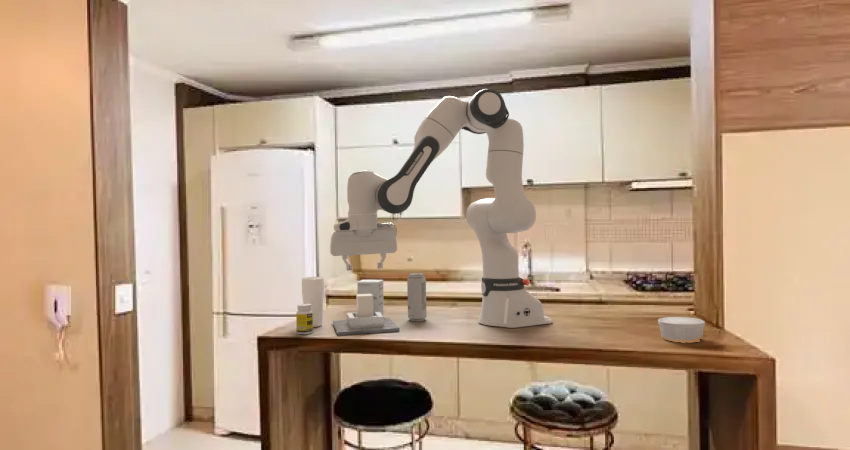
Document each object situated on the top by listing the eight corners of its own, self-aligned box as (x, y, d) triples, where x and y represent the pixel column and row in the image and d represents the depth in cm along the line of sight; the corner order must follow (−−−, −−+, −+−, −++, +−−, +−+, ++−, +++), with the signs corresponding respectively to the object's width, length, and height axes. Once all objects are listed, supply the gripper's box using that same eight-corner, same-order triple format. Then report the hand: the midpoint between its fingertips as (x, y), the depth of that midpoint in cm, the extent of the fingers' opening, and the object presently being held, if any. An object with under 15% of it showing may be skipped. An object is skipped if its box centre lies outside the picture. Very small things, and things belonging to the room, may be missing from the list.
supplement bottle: (309, 334, 163) (308, 305, 163) (293, 334, 164) (293, 305, 164) (315, 331, 168) (315, 303, 168) (300, 331, 169) (300, 303, 169)
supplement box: (357, 320, 185) (356, 281, 184) (363, 316, 192) (362, 279, 192) (379, 320, 183) (378, 281, 183) (384, 316, 191) (383, 279, 190)
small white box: (371, 322, 175) (370, 293, 175) (373, 325, 170) (372, 295, 170) (356, 323, 174) (356, 294, 174) (358, 326, 169) (358, 296, 169)
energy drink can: (410, 318, 187) (409, 272, 186) (428, 318, 186) (427, 272, 185) (406, 321, 181) (405, 274, 181) (424, 321, 180) (423, 274, 179)
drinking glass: (314, 323, 181) (313, 276, 181) (329, 325, 177) (328, 277, 177) (298, 326, 176) (297, 278, 175) (313, 328, 172) (312, 279, 171)
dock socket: (388, 320, 183) (388, 308, 183) (399, 331, 166) (399, 317, 165) (332, 324, 179) (332, 311, 179) (337, 335, 161) (337, 321, 161)
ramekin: (649, 338, 152) (648, 318, 152) (679, 334, 156) (679, 315, 156) (683, 346, 141) (682, 325, 141) (714, 342, 146) (714, 321, 146)
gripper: (394, 222, 177) (396, 266, 177) (328, 225, 172) (330, 270, 173) (398, 222, 171) (400, 268, 171) (330, 225, 166) (332, 272, 166)
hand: (364, 269), depth 172 cm, fingers open, 8 cm apart
